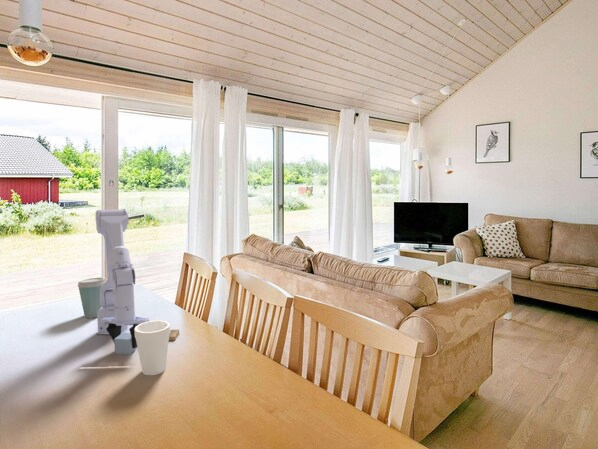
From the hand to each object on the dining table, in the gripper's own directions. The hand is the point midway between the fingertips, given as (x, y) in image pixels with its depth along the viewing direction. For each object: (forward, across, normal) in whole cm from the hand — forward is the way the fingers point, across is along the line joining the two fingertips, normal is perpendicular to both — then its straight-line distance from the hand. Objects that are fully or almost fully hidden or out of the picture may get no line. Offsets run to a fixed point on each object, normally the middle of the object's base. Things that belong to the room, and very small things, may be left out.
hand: (126, 346), depth 123 cm
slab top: (+1, +9, +11) cm, 14 cm away
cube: (+1, 0, 0) cm, 1 cm away
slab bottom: (+2, +9, +11) cm, 14 cm away
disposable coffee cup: (+2, -30, +31) cm, 43 cm away
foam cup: (+2, +14, -11) cm, 18 cm away
